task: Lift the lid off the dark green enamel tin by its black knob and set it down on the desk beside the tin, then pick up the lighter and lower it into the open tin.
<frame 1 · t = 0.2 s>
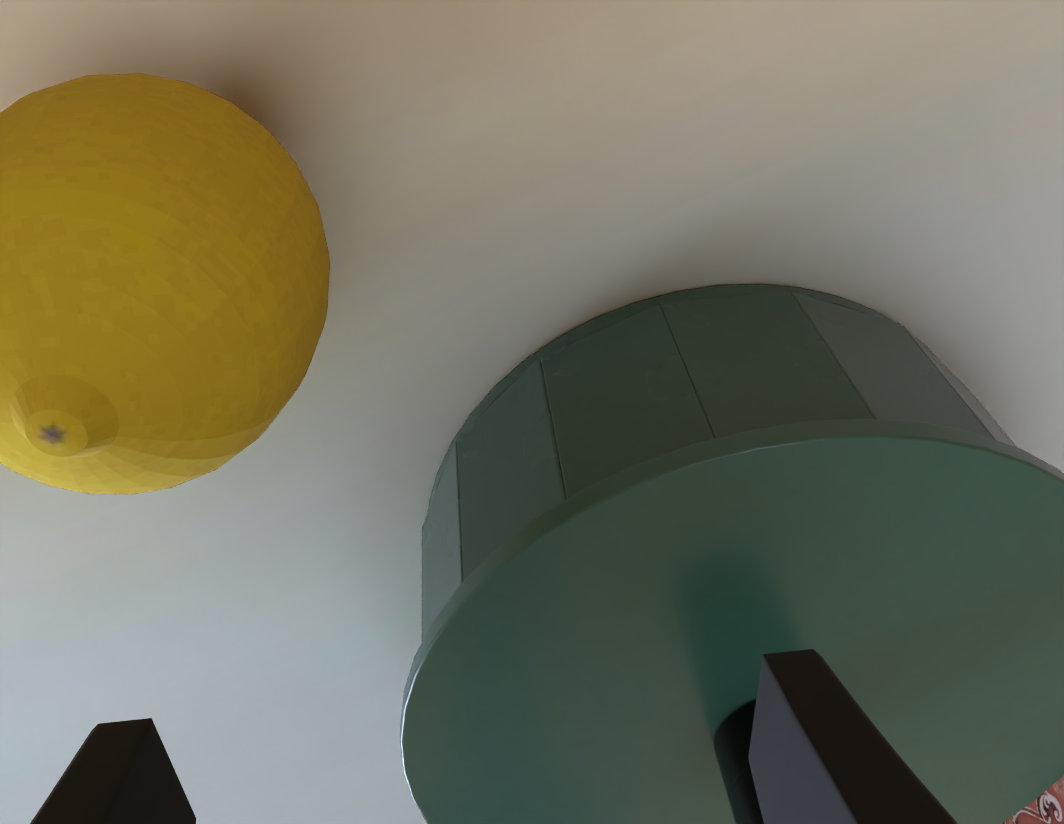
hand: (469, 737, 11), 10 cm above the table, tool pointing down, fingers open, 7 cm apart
tin: (700, 527, 24), on the table
lemon: (193, 172, 18), on the table
lighter: (1016, 741, 31), on the table
tin lid: (765, 710, 19), point 5 cm above the table, touching tin
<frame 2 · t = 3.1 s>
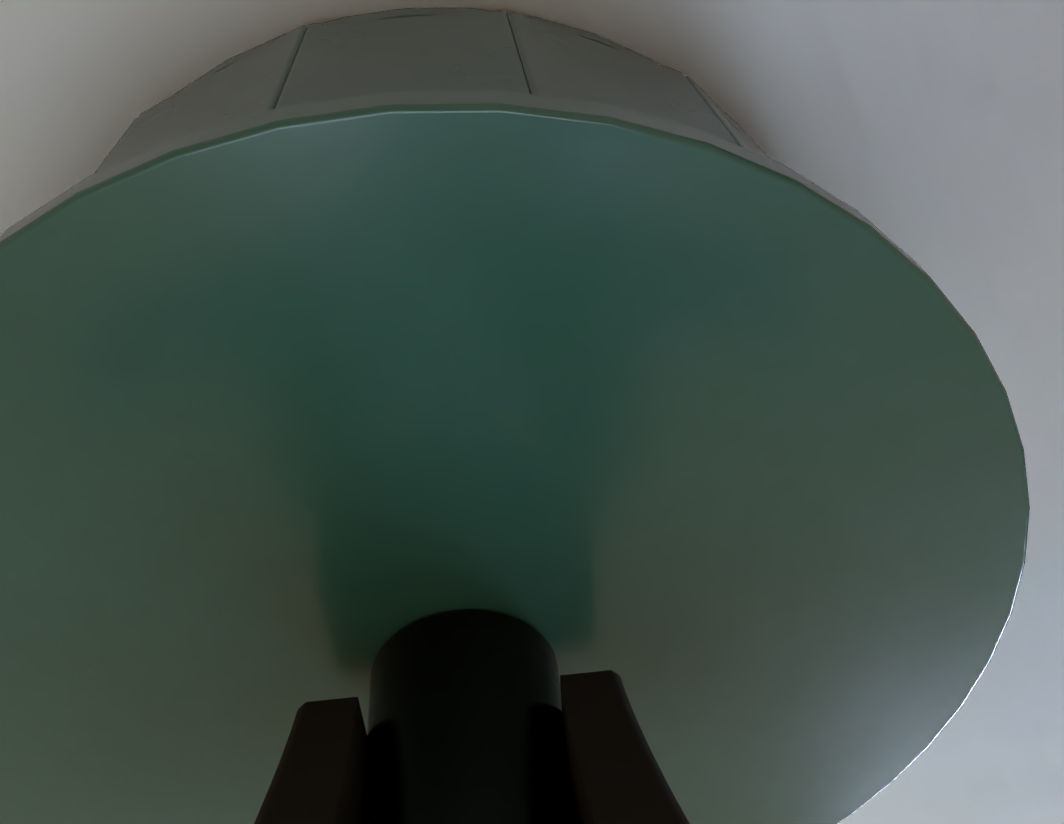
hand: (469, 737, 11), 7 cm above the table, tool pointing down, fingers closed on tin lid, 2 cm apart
tin: (453, 406, 17), on the table
tin lid: (463, 641, 13), point 5 cm above the table, touching gripper, tin
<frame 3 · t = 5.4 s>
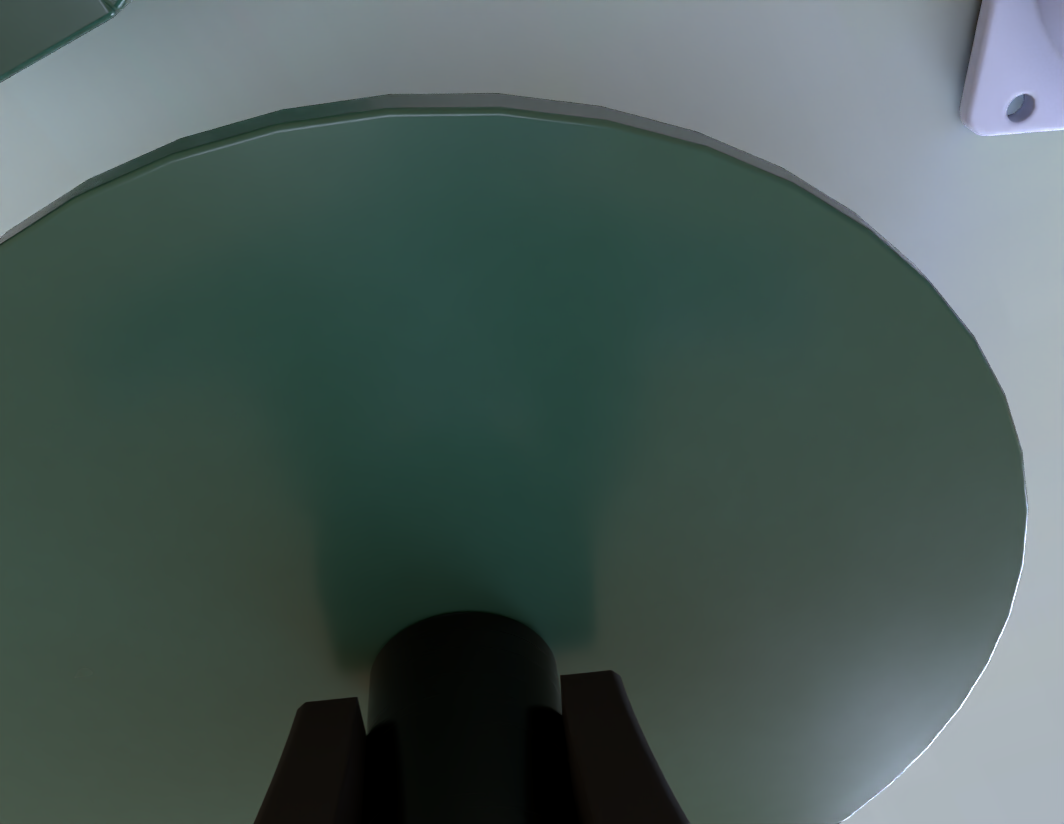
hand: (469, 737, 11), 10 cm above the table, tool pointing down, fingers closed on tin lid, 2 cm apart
tin lid: (462, 643, 13), point 9 cm above the table, touching gripper
when the fingers open (2 cm above the table, at t = 7.7 s): tin lid stays where it is, point 1 cm above the table.
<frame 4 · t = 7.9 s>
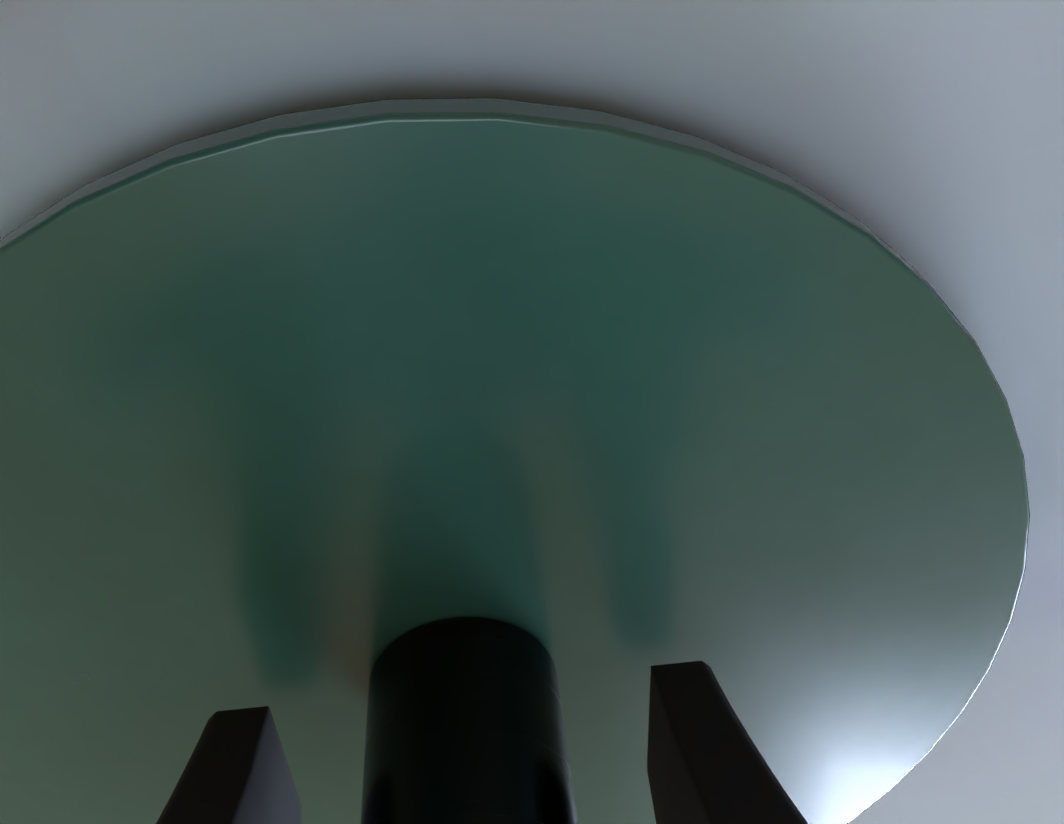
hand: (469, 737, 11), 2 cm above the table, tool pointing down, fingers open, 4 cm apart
tin lid: (462, 648, 13), point 1 cm above the table
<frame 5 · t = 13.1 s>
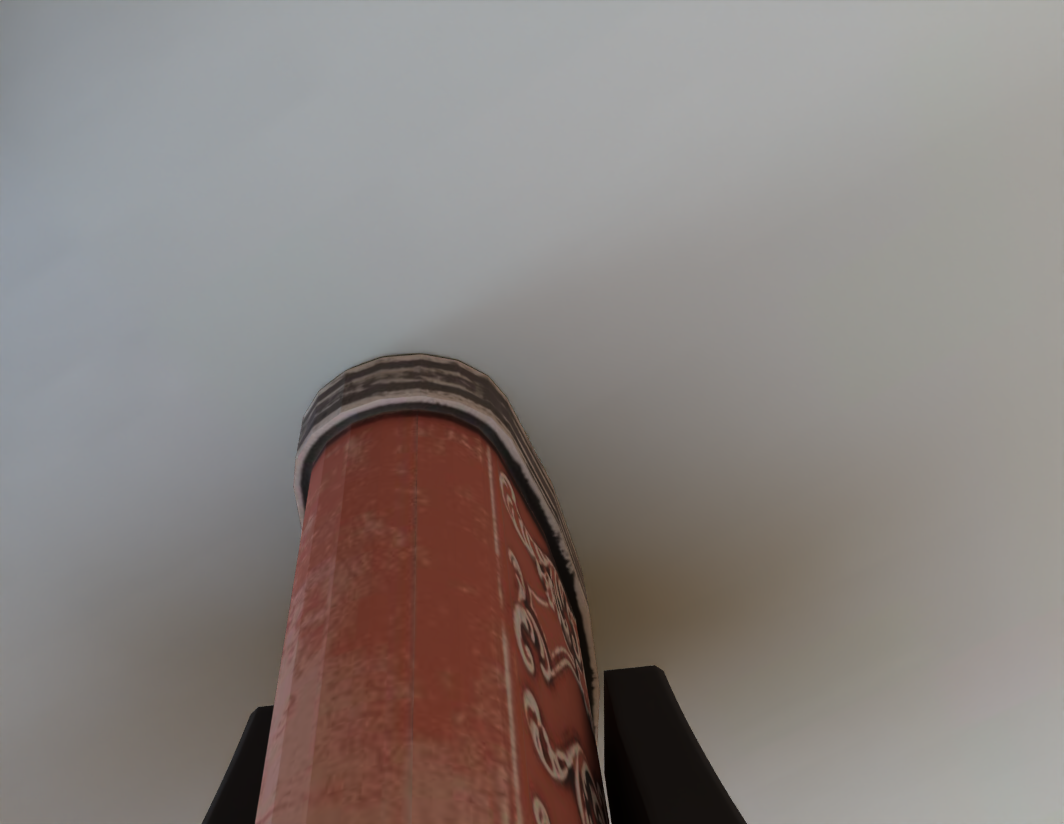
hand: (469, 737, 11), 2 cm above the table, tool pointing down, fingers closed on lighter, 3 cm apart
lighter: (463, 582, 14), on the table, touching gripper
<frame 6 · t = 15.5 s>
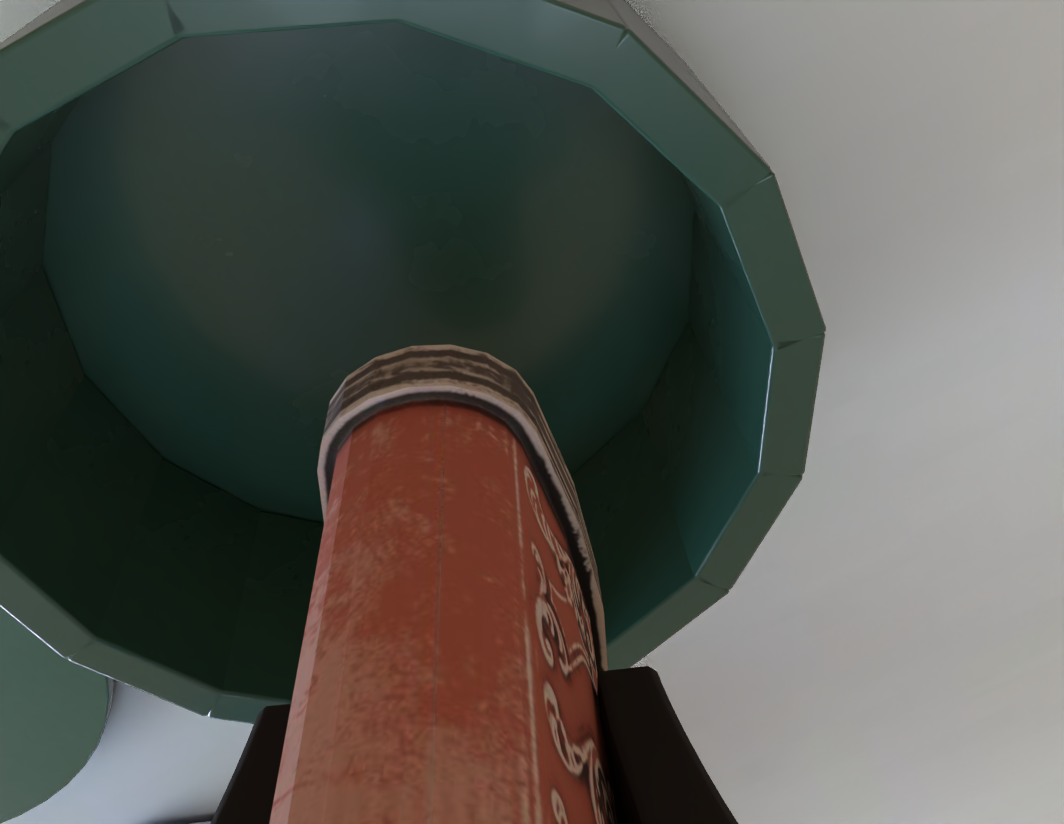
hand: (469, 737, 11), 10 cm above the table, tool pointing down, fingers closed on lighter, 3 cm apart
tin: (383, 280, 19), on the table
lighter: (478, 575, 14), point 7 cm above the table, touching gripper
when the fingers open (3 cm above the table, at t = 18.0 s): lighter stays where it is, resting on tin.
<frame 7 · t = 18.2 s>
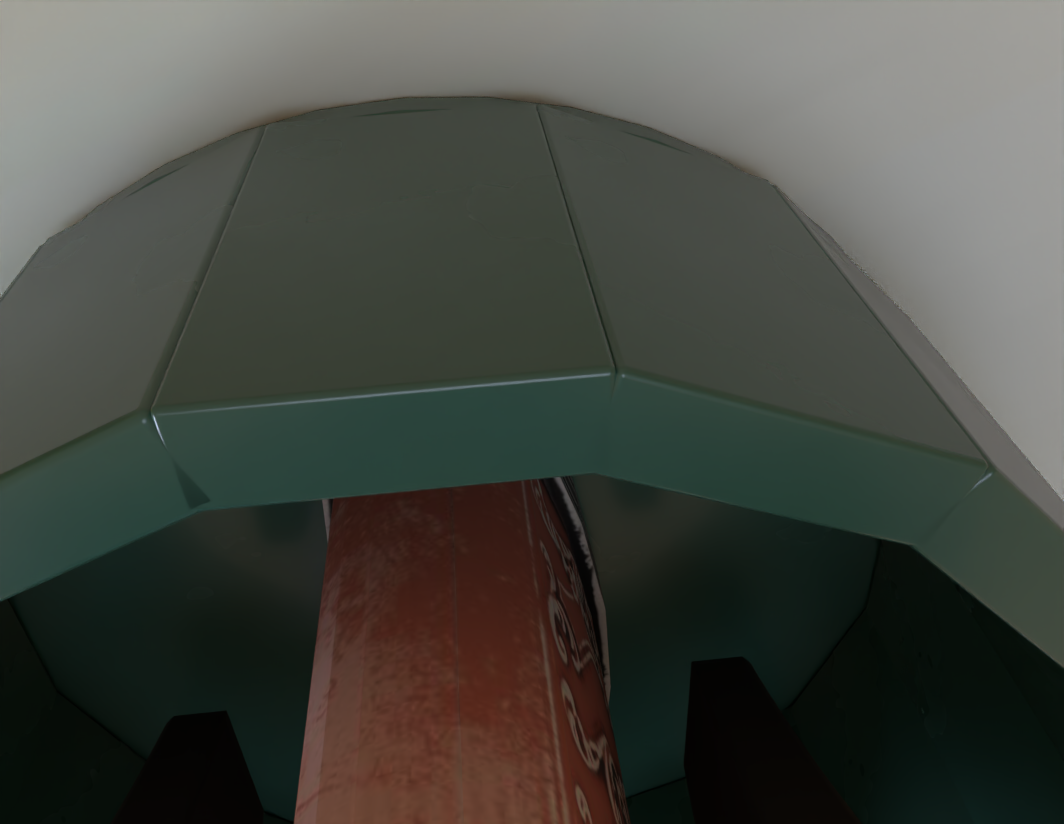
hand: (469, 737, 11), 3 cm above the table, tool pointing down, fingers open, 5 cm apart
tin: (461, 565, 14), on the table
lighter: (477, 575, 14), resting on tin
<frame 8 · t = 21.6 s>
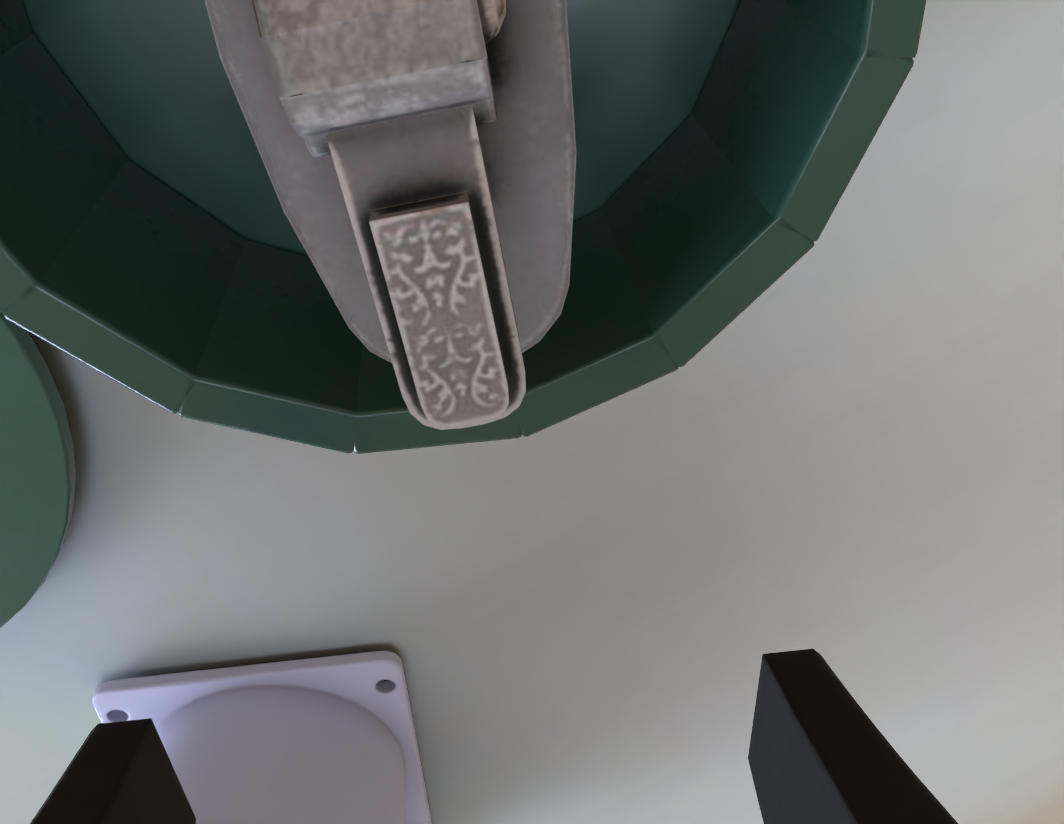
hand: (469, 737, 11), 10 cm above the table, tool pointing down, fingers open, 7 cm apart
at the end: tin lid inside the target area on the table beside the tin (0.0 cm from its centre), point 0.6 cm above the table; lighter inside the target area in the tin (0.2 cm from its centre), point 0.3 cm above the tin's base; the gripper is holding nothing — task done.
